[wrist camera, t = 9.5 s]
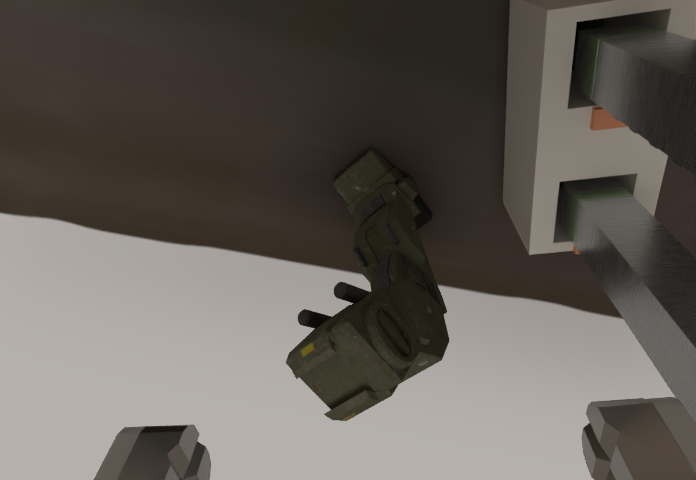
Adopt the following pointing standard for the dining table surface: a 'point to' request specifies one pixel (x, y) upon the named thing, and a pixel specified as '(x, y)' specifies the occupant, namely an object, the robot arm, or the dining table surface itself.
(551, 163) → the frame
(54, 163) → the dining table surface
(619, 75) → the column
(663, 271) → the column
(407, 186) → the mechanical leg
